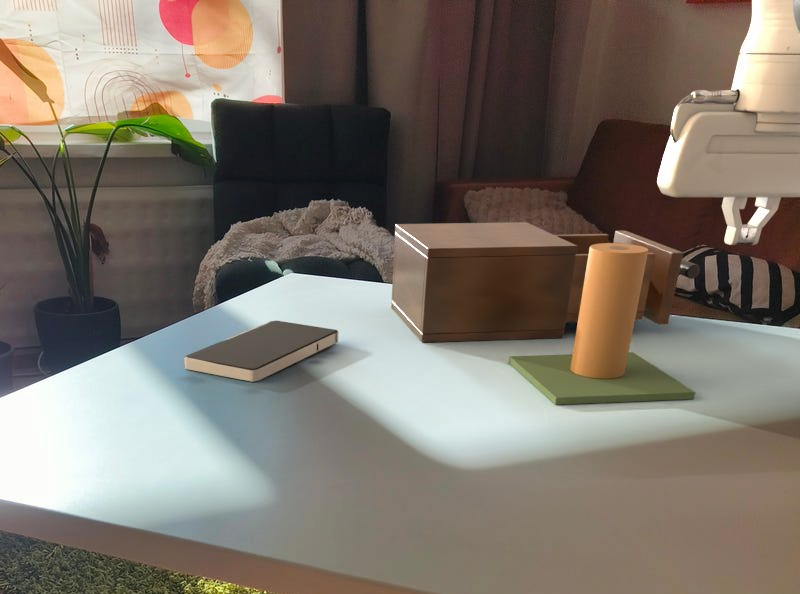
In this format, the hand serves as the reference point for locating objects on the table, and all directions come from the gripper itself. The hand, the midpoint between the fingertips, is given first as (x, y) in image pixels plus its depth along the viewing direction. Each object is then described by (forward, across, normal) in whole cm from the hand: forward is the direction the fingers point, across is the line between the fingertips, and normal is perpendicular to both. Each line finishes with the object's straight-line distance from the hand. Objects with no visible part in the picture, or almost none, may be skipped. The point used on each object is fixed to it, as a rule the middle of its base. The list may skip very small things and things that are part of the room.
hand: (740, 244), depth 94 cm
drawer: (+6, -15, 0) cm, 16 cm away
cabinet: (+7, -28, 0) cm, 29 cm away
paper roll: (+7, -23, -21) cm, 32 cm away
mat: (+7, -24, -21) cm, 33 cm away
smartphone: (+8, -52, -10) cm, 53 cm away
